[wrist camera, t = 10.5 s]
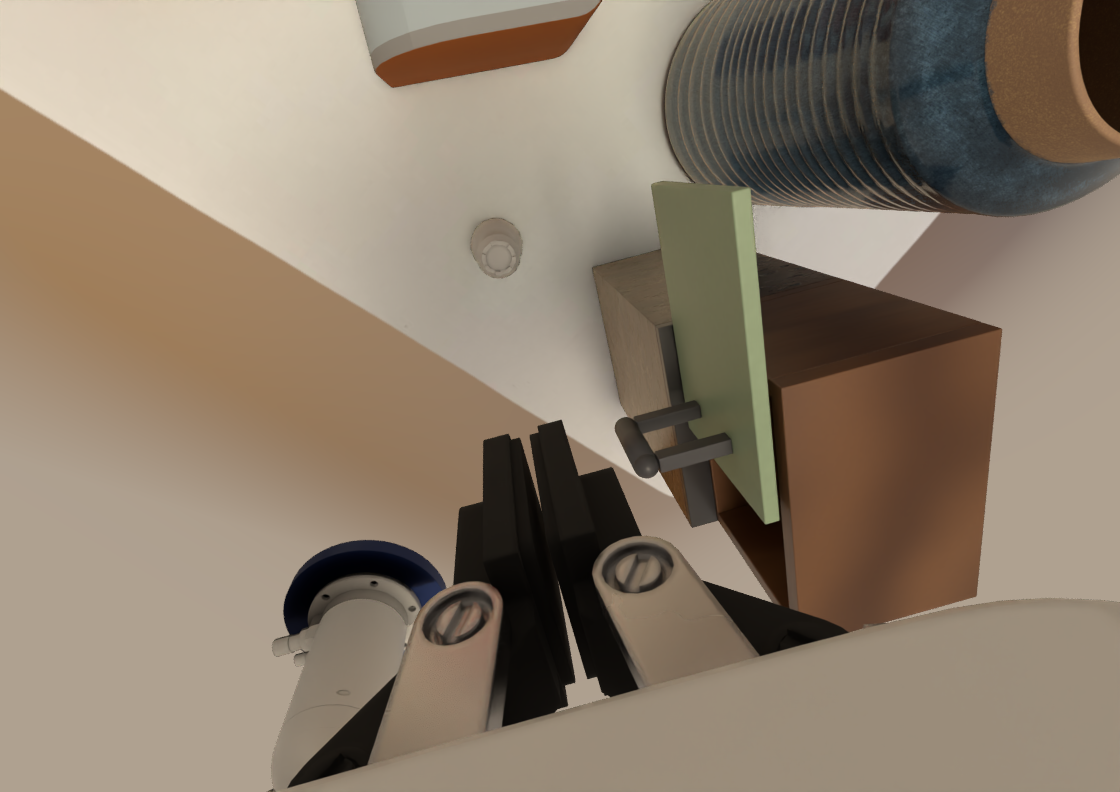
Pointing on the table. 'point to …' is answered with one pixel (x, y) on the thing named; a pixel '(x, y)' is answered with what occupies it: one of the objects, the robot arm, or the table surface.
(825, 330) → the cabinet
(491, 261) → the rook chess piece
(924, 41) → the vase
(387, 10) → the alarm clock
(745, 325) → the door
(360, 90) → the table surface
